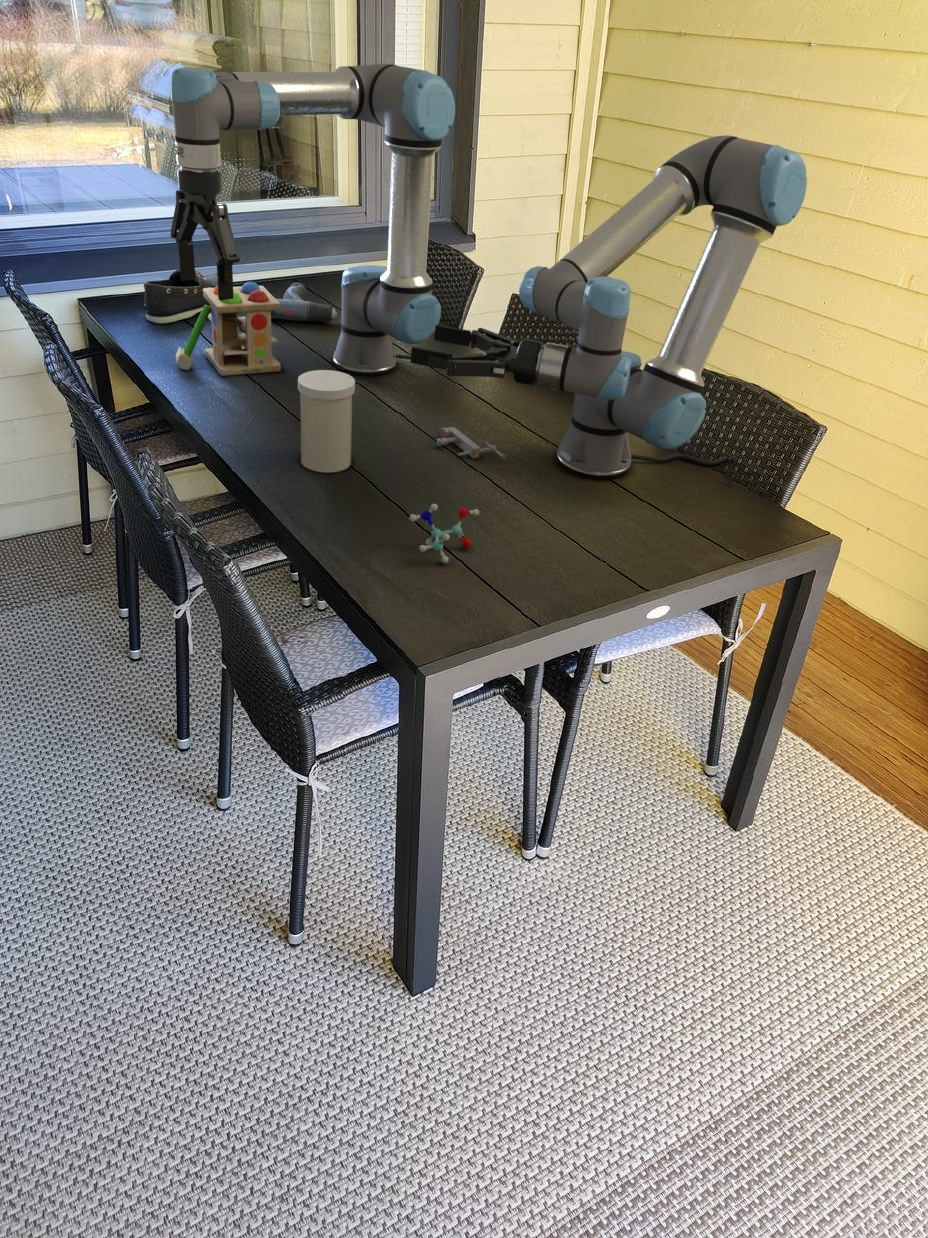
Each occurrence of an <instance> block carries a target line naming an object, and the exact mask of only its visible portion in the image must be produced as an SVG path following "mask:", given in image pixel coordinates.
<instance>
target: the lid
mask: <svg viewBox="0 0 928 1238" xmlns="http://www.w3.org/2000/svg"><path fill="white" fill-rule="evenodd" d="M297 390H298V392H299V394H300V393H302V394H303V395H305V396H308V397H311V398H315V399H321V400H337V399H343V398H346V397H349V396H351V395H352V394H353V395H354V394H355V391H356V379H355V378H354V377H353V376H351V375H350V374H349V373H347V372H344V371H338V370H333V369H332V370H329V369H317V370H310V371H306V372H304V373H301V374H300V375H299V376H298V378H297Z"/></svg>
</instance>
